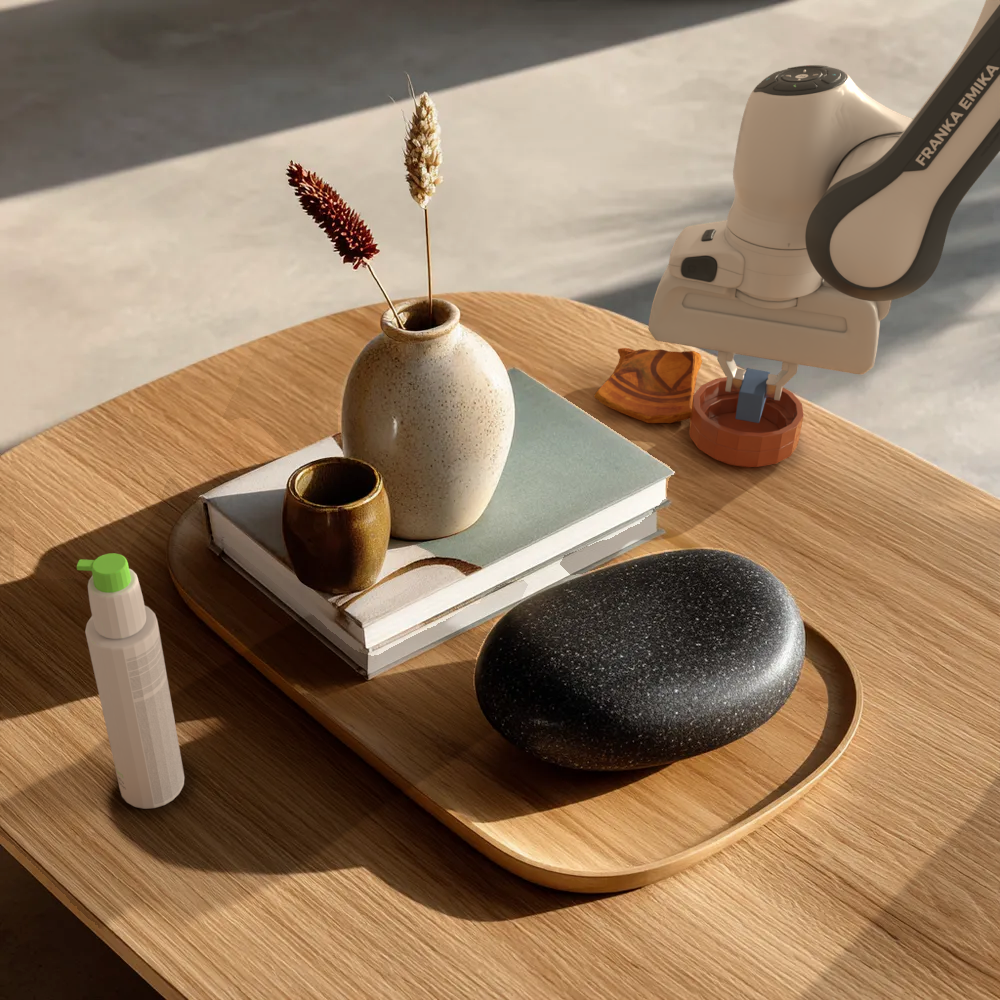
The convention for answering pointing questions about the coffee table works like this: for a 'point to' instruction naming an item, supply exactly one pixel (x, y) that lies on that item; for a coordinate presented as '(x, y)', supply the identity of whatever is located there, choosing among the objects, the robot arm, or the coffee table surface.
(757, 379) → the eraser
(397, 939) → the coffee table surface
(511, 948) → the coffee table surface
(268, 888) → the coffee table surface
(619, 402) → the pottery fragment
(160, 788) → the bottle
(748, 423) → the bowl
